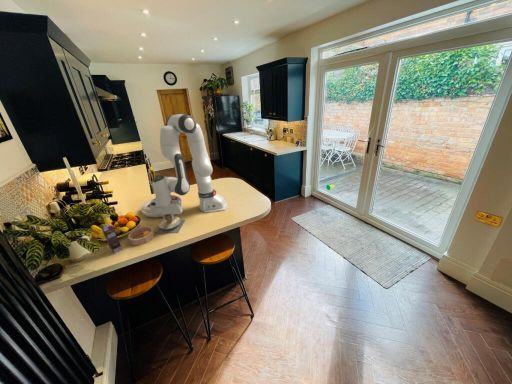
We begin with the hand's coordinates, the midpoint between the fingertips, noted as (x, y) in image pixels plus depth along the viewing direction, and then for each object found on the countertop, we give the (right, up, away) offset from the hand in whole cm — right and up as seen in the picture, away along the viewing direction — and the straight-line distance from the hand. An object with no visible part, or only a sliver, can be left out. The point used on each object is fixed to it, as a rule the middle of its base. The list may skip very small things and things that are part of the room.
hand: (169, 219), depth 144 cm
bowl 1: (-14, -11, -8) cm, 19 cm away
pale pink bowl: (0, -3, +1) cm, 3 cm away
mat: (0, -5, +3) cm, 6 cm away
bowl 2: (-15, +4, +26) cm, 30 cm away
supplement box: (-25, -16, -16) cm, 34 cm away
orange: (-11, -9, -8) cm, 16 cm away
